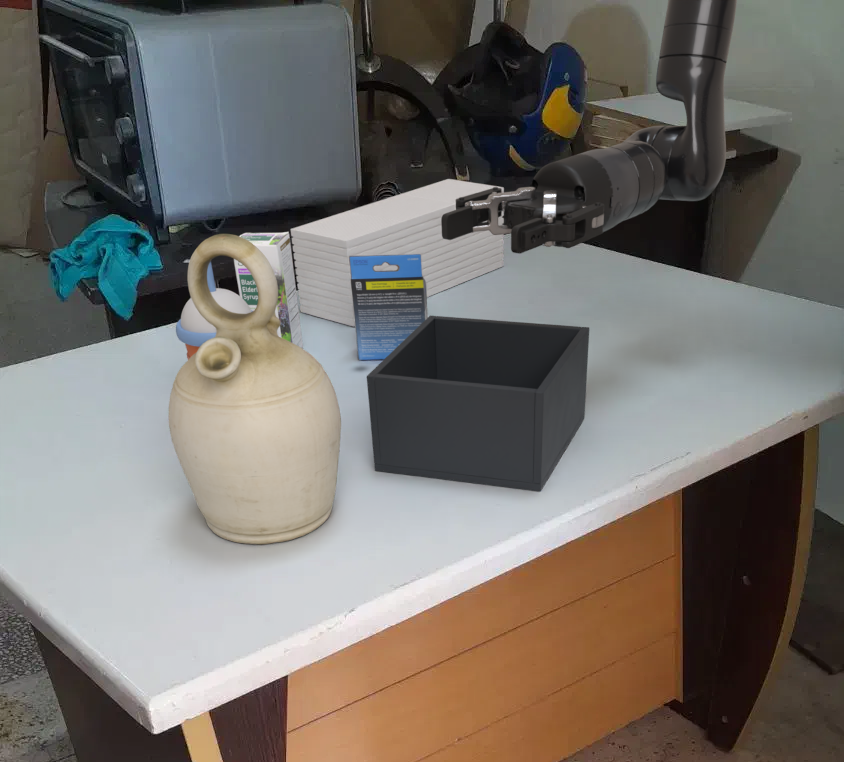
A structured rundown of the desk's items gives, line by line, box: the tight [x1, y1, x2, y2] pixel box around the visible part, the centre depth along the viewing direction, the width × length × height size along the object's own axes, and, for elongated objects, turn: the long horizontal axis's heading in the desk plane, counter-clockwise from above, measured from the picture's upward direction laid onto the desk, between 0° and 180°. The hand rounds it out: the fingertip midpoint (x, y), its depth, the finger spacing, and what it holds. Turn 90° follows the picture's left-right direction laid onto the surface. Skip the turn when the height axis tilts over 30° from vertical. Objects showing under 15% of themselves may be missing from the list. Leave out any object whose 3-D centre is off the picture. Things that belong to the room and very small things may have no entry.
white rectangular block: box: [290, 178, 505, 328], centre depth 144 cm, size 32×11×11 cm, turn 138°
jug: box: [168, 233, 342, 545], centre depth 90 cm, size 15×16×25 cm
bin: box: [366, 315, 590, 492], centre depth 104 cm, size 18×18×10 cm
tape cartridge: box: [349, 254, 429, 361], centre depth 124 cm, size 9×4×12 cm, turn 84°
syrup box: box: [233, 231, 304, 349], centre depth 124 cm, size 6×6×14 cm
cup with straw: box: [175, 261, 253, 360], centre depth 110 cm, size 9×9×18 cm
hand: (478, 234), depth 93 cm, fingers open, 8 cm apart
